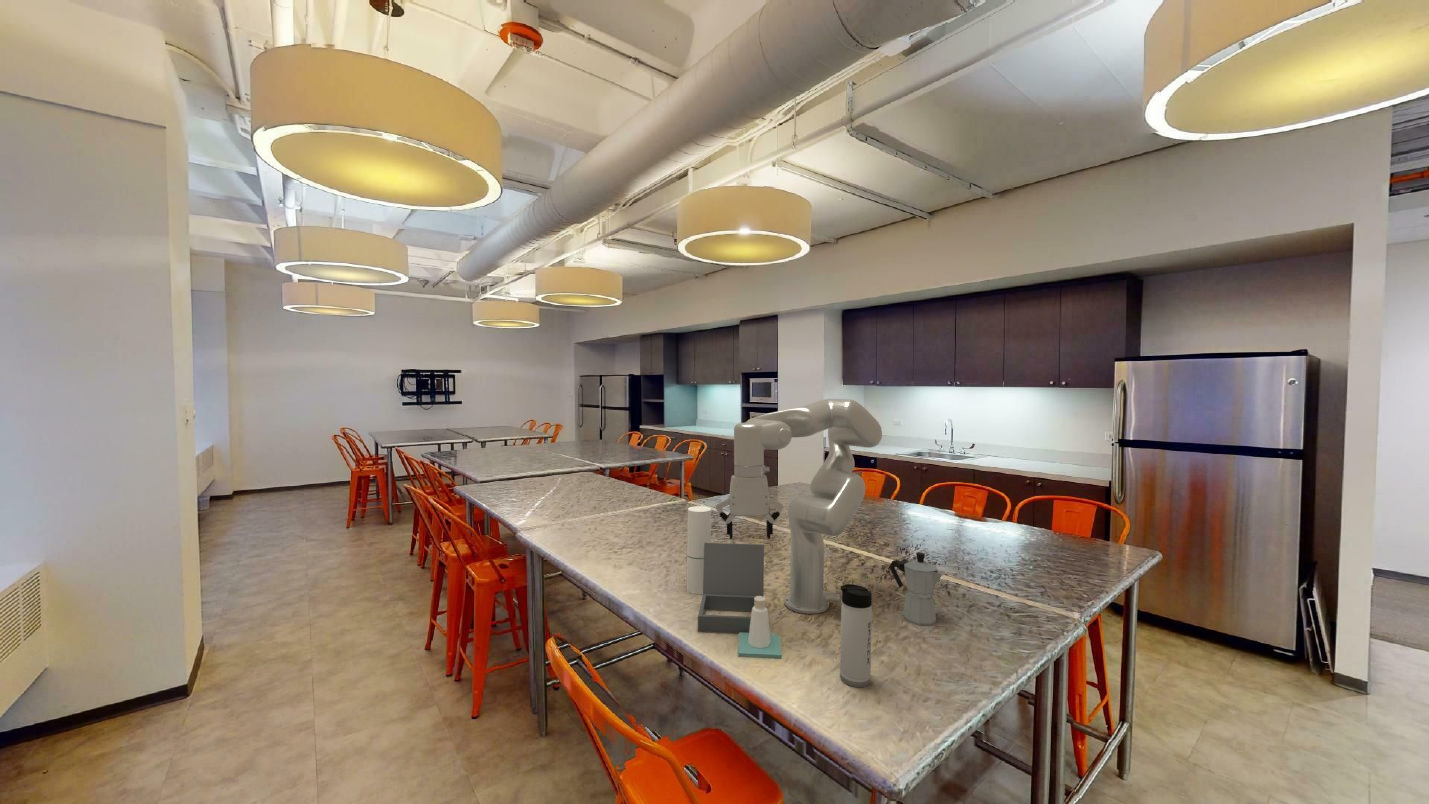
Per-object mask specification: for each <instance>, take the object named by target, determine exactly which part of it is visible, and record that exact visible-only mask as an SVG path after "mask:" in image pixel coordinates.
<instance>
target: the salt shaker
mask: <svg viewBox="0 0 1429 804" xmlns="http://www.w3.org/2000/svg"><path fill="white" fill-rule="evenodd" d="M766 601H767V598H766V597H765V596H764V595H763V596H756V597H755V598H754V604H755V605H754V607H753V608H752V612H750V613H751V614H750V617H751V621H750V630H749V638H748V643H749V644H750V645H751V646H752V647H756V648H765V647H768V646H769V644H770V634H771V632H770V621H769V610H768V608H767V607H766Z"/></svg>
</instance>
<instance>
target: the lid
mask: <svg viewBox="0 0 1429 804" xmlns="http://www.w3.org/2000/svg"><path fill="white" fill-rule="evenodd" d="M764 561H765V544H760V543H759V544H758V543H757V544H755V543H729V542H727V543H726V542H711V543H704V571H703V594H714V595H738V596H763V597H764V590H765V588H764V583H765V580H764V578H765V575H764V573H765V571H764V569H765V567H764V565H765V562H764ZM703 594H702V595H703Z"/></svg>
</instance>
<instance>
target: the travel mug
mask: <svg viewBox="0 0 1429 804" xmlns="http://www.w3.org/2000/svg"><path fill="white" fill-rule="evenodd" d="M839 589H840V591H841V607H840V608H841V612H840V613H841V615H840V616H841V617H840V621H841V622H840V654H839V655H840V658H839V659H840V663H839V665H840V666H839V678H840V680H841V681H842V682H843V683H844V684H846V685H848V686H850V687H854V688H863V687H867V686H868V685H870V684H871V672H872V671H871V665H872V662H871V661H872V660H871V659H872V625H873V624H872V623H873V620H872V619H873V618H872V617H873V604H872V603H873V602H872V601H873V598H872V597H873V595H872V592H871V591H870V590H869V589H868V588H866V587H864V586H861V585H858V584H852V583H851V584H850V583H845V584H843V585H840V588H839Z"/></svg>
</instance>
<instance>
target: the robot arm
mask: <svg viewBox="0 0 1429 804" xmlns="http://www.w3.org/2000/svg"><path fill="white" fill-rule="evenodd" d="M826 430H827V439H828V445H829V446H828V447H829V448H828V449H829V451H828V455H827V457H826V459H824V461H823V464H822V465H821V466H820V468H819V469H818V470H817V472H816V473H815V475H814V476H813V477H812V480H811V482H810V486H809V491H810V493H811V494H812V495H810V494H798V495H795V496H794V497H792V499H791V500H790V502H789V504H788V506H787V518H788V519H787V521H788V523H789V531H790V557H789V558H790V563H789V564H790V565H789V567H790V568H789V569H790V570H789V573H790V574H789V594H787V595H785V597H784V598H783V600H784V601H783V603H784V605H785V606H786V608H788V609H789V610H792V611H793V612H796V613H800V614H807V615H809V614H810V615H815V614H821V613H824V612H826V611H827V610H828V609H829V605H830V604H829V603H830V602H837V603H839V602H841V594H838V593H837V594H835V592H834V591H827V590H825V588H824V586H825V585H824V578H825V577H824V576H825V575H824V574H825V542H824V539H823V535H825V536H829V537H830V536H832V537H836V536H837V537H838V536H839V535H841V534H843V532H844V531H845V530H846V529H847V527H848V525H849V523H850V522H851V521H852V520H853V517H854V516H855V514H856V513H857V511H858V509H859V508H860V506H861V505H862V502H863V501H864V498H865V493H866V484H865V481H864V479H863V478H862V476H861V475H859V474H857V473H855V472H853V471H854V469H855V459H854V456H853V454H852V451H851V447H859V448H874V447H876V446H878V445H879V443H880V442H881V440H882V438H883V431H882V426H881V424H880V423H879V420H877V419H876V417H874V415H872V414H871V413H870V412H869V411H868V410H867V408H865V407H864V406H863V405H862V404H861V403H859V402H858V401H856V400H854V399H851V398H849V399H848V398H825V399H820V400H818V401H815V402H812V403H809V404H806V405H803V406H801V407H795V408H789V409H785V410H780V411H779V410H778V411H773V412H768V413H764V414H762V415H758V416H755V417H752V418H749V419H748V420H747V421H745V422H740V423H737V424H736V425H734V427H733V456H734V457H733V462H734V463H733V464H734V466H733V467H734V469H733V470H734V474H733V475H731V478H730V486H729V497H728V498H727V499H725V500H723V501H721V502H719V503H717V504H715V509H716V511H717V513H718V515H719V517H720V518H721V519H722V520H723V521H724V522H725V524H726V535H727V536H729V540H732V539H733V520H734V519H735V517H765V519H766V524H765V525H766V538H767V539H768V540H769V539H770V540H771V535H774V531H773V529H774V528H773V527H774V523H775V521H776V520H777V519H778V518H779V517H780V515H781V513H782V511H783V509H784V504H783V503H781V502H779V501H778V500H775V499H773V498H771V497H770V492H769V491H770V490H769V484H768V483H769V482H768V478H767V475H765V474H766V473H769V472H771V471H770V466H767V465H765V461H764V460H765V459H764V458H765V457H764V453H765V451H766V450H777V451H778V450H782V449H784V448H786V447H788V446H789V444H790V443H791V441H792V438H805V437H807V438H808V437H810V436H813V435H815V434H817V433H820V432H823V431H826ZM850 446H851V447H850ZM770 505H771V506H773V507H775V508H776V509H775V511H773V513H770ZM727 506H729V513H728V514H726V512H724V510H723V509H724V508H725V507H727ZM822 534H823V535H822Z"/></svg>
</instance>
